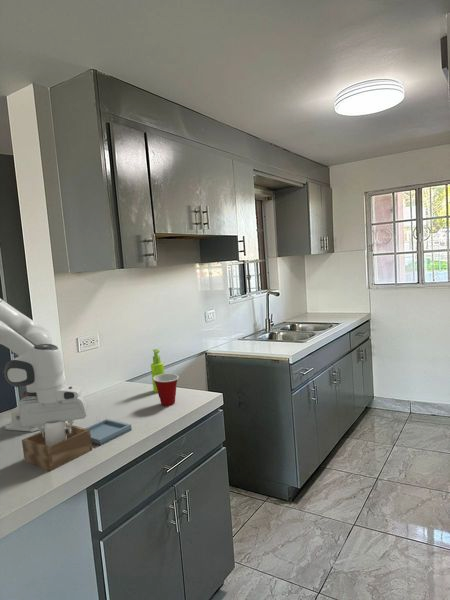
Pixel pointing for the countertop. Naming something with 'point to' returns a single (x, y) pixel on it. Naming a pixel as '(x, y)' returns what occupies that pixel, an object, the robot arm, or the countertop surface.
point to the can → (55, 432)
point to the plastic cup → (166, 388)
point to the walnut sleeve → (57, 448)
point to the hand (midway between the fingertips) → (57, 434)
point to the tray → (107, 431)
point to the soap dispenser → (156, 367)
